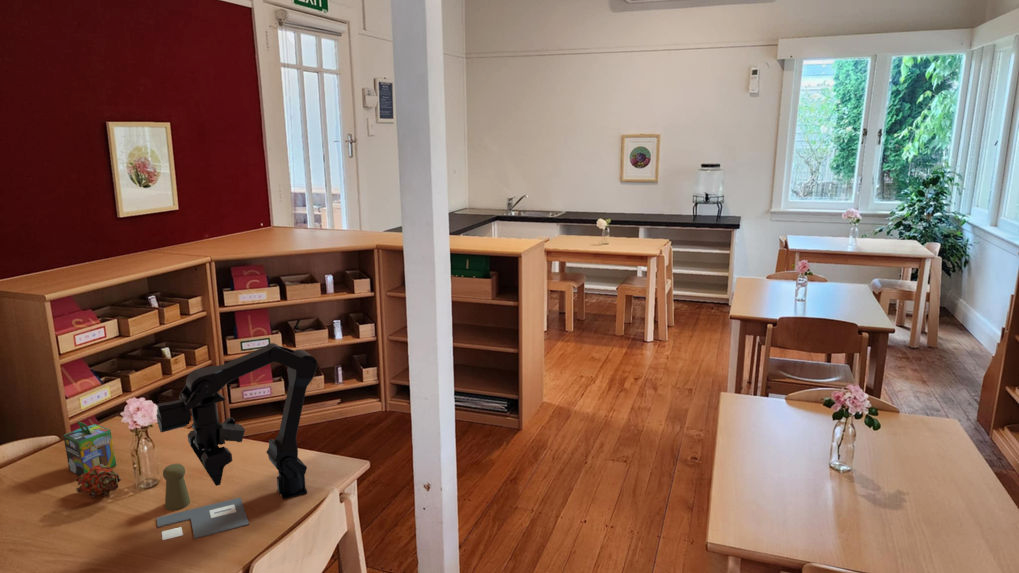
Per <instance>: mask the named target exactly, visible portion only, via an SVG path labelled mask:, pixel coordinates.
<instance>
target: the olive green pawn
mask: <svg viewBox="0 0 1019 573" xmlns="http://www.w3.org/2000/svg"><path fill="white" fill-rule="evenodd" d="M185 475H186V468H185V466H184V465H183V464H180V463H172V464H169V465H167V466H166V467H164V469H163V470H162V477H163V479H164V480H165V498H164V499H165V502H164V505H165V506H164V507H165V510H167V511H180V510H182V509H185V508H187V507H188V506H189V505H190V504H191V499H190V495H189V491H188V487H187V485H186V484H187V483H186V479H185V478H184V477H185Z"/></svg>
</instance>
